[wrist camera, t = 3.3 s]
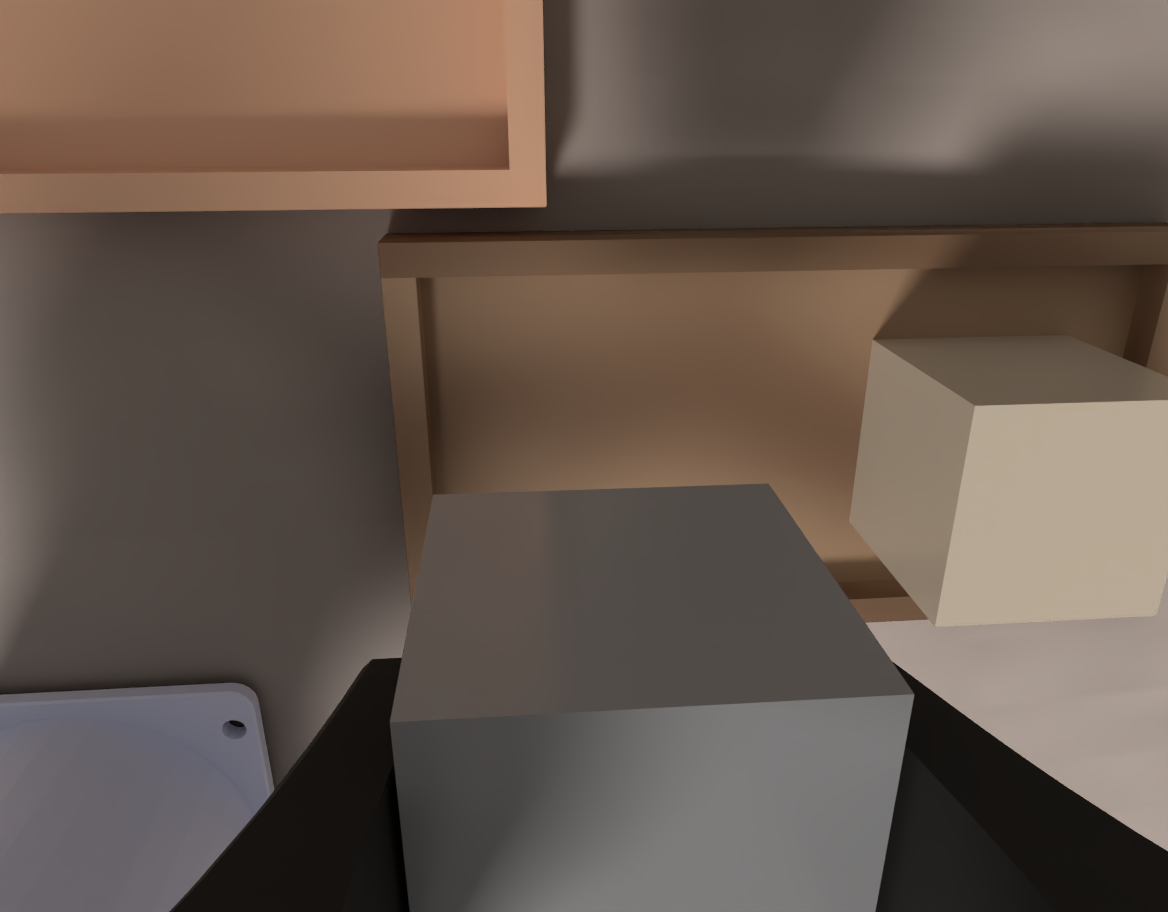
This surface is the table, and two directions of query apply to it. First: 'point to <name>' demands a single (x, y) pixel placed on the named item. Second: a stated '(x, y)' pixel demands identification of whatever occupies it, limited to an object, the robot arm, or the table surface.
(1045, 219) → the table surface
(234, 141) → the terracotta dish
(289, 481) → the table surface
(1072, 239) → the walnut tray
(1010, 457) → the cream pedestal cube
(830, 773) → the slate gray cube
